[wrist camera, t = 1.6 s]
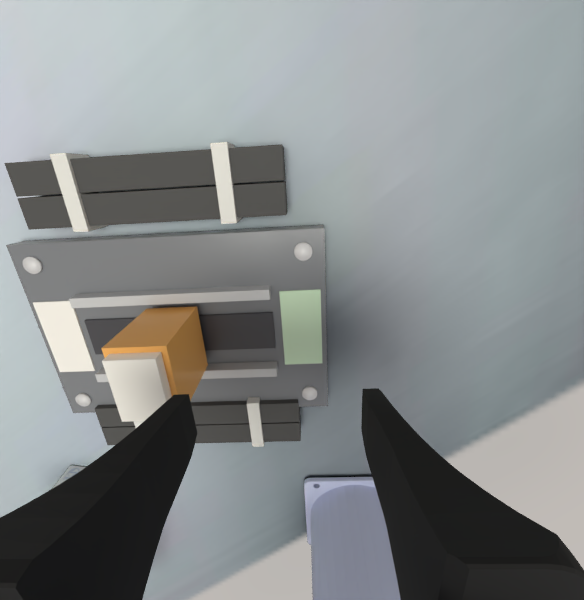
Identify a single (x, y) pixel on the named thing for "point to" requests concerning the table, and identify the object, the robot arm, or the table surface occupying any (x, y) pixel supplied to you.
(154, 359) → the breaker knob
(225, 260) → the breaker panel
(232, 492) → the table surface
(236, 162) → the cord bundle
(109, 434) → the cord bundle
